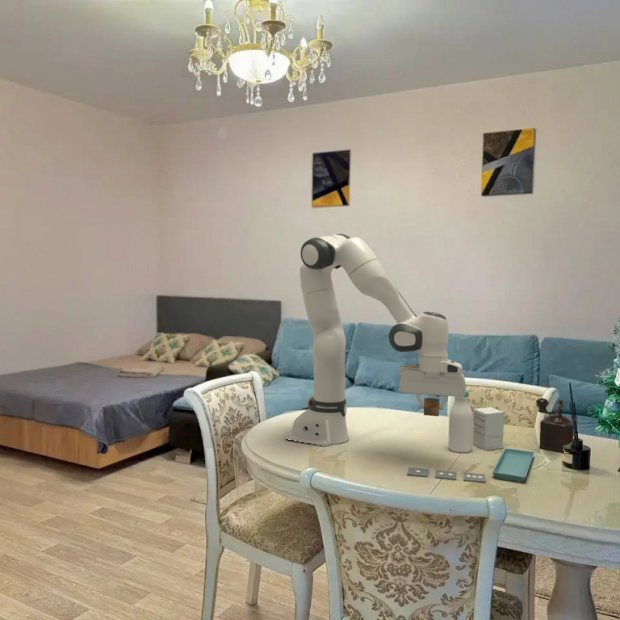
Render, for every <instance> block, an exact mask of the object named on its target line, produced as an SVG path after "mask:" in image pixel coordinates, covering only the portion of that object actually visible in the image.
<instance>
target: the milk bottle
mask: <svg viewBox="0 0 620 620" xmlns="http://www.w3.org/2000/svg"><path fill="white" fill-rule="evenodd" d="M469 396H470V391H469V390H467V389H466V395H465V396H464V397H454V402H453V404H452V405H451V408H450V412H449V417H448V450H450V451H451V452H456V453H460V454H461V453H462V454H463V453H470V452H472V450H473V411H472V409H471V406H470V403H469Z"/></svg>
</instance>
